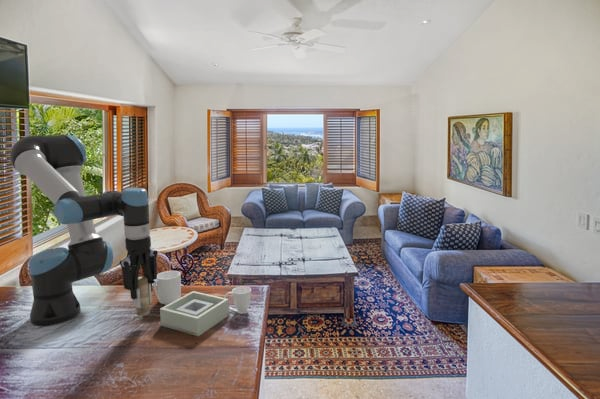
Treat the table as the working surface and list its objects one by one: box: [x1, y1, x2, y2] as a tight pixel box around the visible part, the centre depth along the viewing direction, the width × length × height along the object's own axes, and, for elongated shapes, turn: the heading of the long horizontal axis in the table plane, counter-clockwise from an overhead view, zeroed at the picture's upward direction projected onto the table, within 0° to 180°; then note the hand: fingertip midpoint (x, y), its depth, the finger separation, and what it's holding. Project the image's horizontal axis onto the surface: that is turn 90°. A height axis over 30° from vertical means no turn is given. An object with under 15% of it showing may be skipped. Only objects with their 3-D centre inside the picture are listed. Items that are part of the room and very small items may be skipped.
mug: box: [152, 270, 182, 306], centre depth 149 cm, size 11×9×10 cm
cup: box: [223, 285, 252, 315], centre depth 141 cm, size 7×10×8 cm
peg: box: [136, 276, 151, 317], centre depth 131 cm, size 4×4×12 cm
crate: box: [159, 290, 230, 337], centre depth 135 cm, size 16×16×6 cm
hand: (142, 304), depth 131 cm, fingers closed on peg, 4 cm apart
